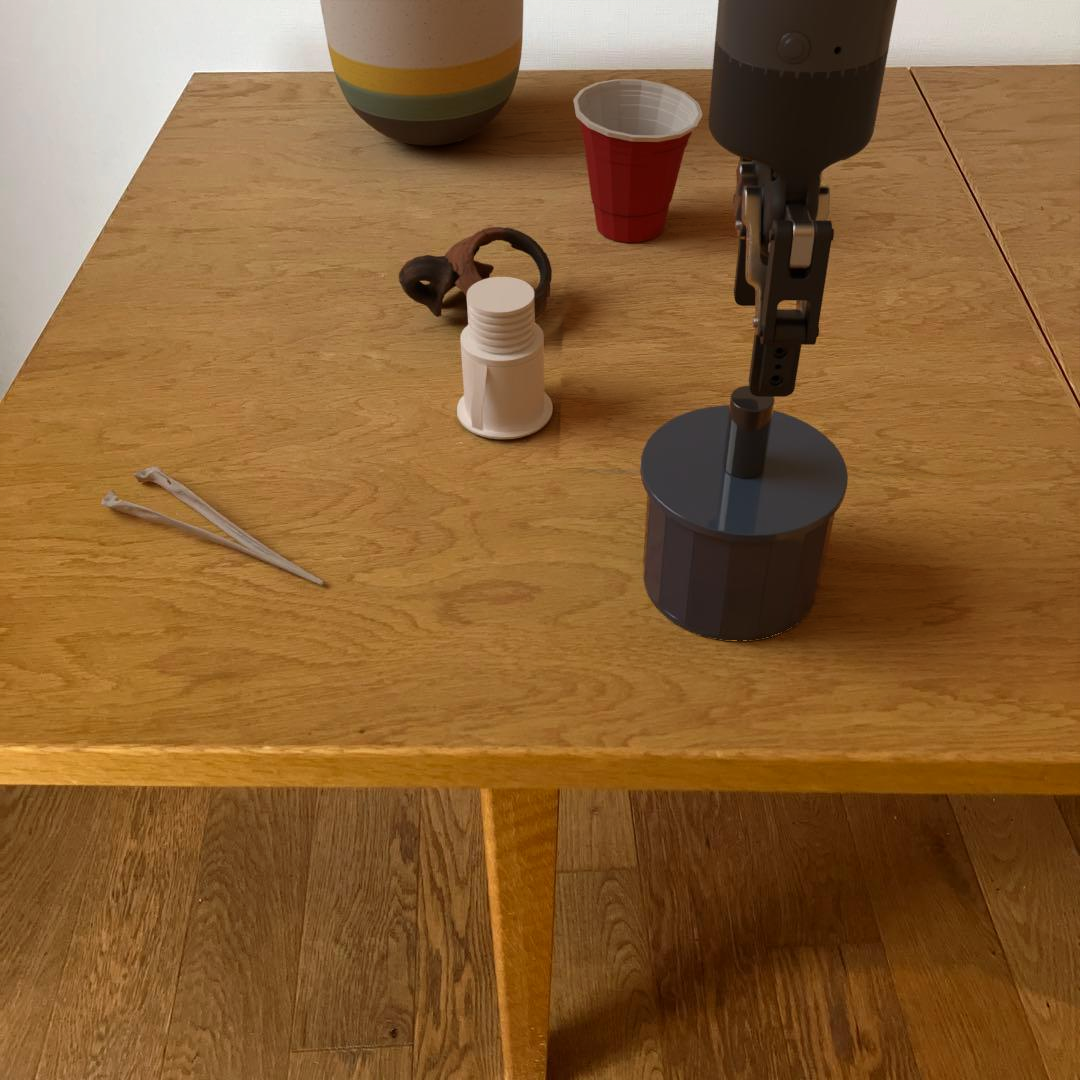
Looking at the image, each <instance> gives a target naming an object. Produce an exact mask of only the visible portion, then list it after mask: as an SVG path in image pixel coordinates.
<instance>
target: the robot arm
mask: <svg viewBox="0 0 1080 1080" xmlns="http://www.w3.org/2000/svg"><path fill="white" fill-rule="evenodd" d="M897 5H898V0H718V1H717V13H716V24H715V36H714V47H713V49H714V50H713V59H712V72H711V84H710V96H709V97H710V98H709V108H708V109H709V110H708V121H707V122H708V128H709V131H710V134H711V137H713V139H714V140H715V142H717V144H718V145H719V146H721V147H722V148H723V149H725V150H726V151H728V152H729V153H731V154H733V155H734V156H737V157H739V161H738V163H737V167H736V186H735V191H734V194H733V195H732V198H733V199H732V203H733V204H734V221H735V222H734V223H735V224H734V229H735V231H736V235H737V237H738V238H739V240H738V249H737V258H736V265H735V266H736V267H735V276H734V285H733V297H734V301H735V302H734V303H736V304H737V305H738V306H741V307H754V316H753V317H752V328H754V334H753V341H752V342H753V344H752V351H751V359H750V365H749V366H750V367H749V375H748V386H749V387H750V392H751V393H752V394H753V395H754V396H758V397H774V398H775V397H776V398H777V397H778V398H779V397H780V398H784V397H789V396H790V395H792V394H793V393H794V391H795V388H796V382H797V376H798V368H799V363H800V357H801V350H802V346H803V345H804V346H806V345H808V346H810V345H811V346H815V345H816V343H817V338H818V337H819V335H820V327H819V325H820V318H821V312H822V305H823V298H824V293H825V285H826V278H827V272H828V265H829V259H830V252H831V245H832V242H833V241H834V237H835V230H834V228H833V223H832V220H829V219H828V218H829V217H830V203H831V202H830V201H831V191H830V186H829V185H821V183H822V177H823V171H824V170H825V169H828V168H829V167H830V166H832V165H834V164H836V163H839V162H841V161H846V160H849V159H850V158H852V157H854V156H856V155H858V154H859V153H860V152H861V151H863V150H864V149H865V148H866V147H867V146H868V145H869V143H870V142H871V140H872V138H873V135H874V132H875V126H876V120H877V116H878V109H879V104H880V98H881V94H882V87H883V84H884V83H883V82H884V77H885V73H886V72H885V71H886V65H887V58H888V55H889V50H890V49H889V48H890V42H891V37H892V32H893V26H894V22H895V21H894V20H895V15H896V9H897ZM784 301H796V303H795V309H793V308H792V309H790V308H789V309H788V308H787V309H783V308H782V309H778V307H779V304H780V303H782V302H784Z"/></svg>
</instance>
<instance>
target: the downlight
mask: <svg viewBox="0 0 1080 1080" xmlns="http://www.w3.org/2000/svg"><path fill="white" fill-rule="evenodd" d="M534 290H535V289H534V288H533V286H532V285H531V284H529V283H528V282H527V281H524V280H523V279H520V278H518V277H517V278H516V277H512V276H511V277H510V276H493V277H489V278H487V279H483V280H481V281H478V282H476V283H475V284H473V285H472V286H471V287H470V288H469V289H468V291H467V296H466V307H467V309H466V310H467V323H468V324H467V325H466V326H465V327H464V328H463V330H462V331H461V333H460V336H459V341H460V355H461V368H462V369H461V370H462V383H463V384H462V385H463V395H462V396H461V397H460V399H458V400H459V401H458V402H457V406H456V415H457V416H456V417H457V419H458V422H459V423H460V424H461V425H462V426H463V427H464V429H466V430H468V431H469V432H470V433H473V434H474V435H477V436H479V437H483V438H487V439H493V440H514V439H518V438H523V437H526V436H527V437H528V436H530V435H532V434H535V433H536V432H538V431H540V430H541V429H542V428H544V427H545V426H546V425H548V423H549V421H550V420H551V418H552V416H553V413H554V412H553V409H554V407H553V401H552V399H551V397H550V396H549V395H548V394H547V393H546V391H545V335H544V331H543V329H542V328H541V327H540V325H539V324H538V323H536V320H535V308H534Z"/></svg>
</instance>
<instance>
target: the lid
mask: <svg viewBox="0 0 1080 1080" xmlns="http://www.w3.org/2000/svg"><path fill="white" fill-rule="evenodd" d="M775 400H776V399H775V397H758V396H754V395H753V394H752V393H751V392H750V387H749V385H742V386H740V387H737V388H735V389H734V390H733V391H732V392H731V394H730V398H729V405H727V404H726V405H715V406H707V407H702V408H697V409H694V410H691V411H687V412H685V413H682V414H680V415H677V416H675V417H674V418H671V419H670V420H668V421H666V422H665V423H664V424H662V425H661V426H659V427H658V428H657V429H656V430H655V431H654V432H653V433H652V434H651V436H649V438H648V440H647V441H646V443H645V445H644V446H643V449H642V452H641V456H640V471H639V472H640V473H639V474H640V479H641V483H642V486H643V489H644V491H645V492H646V494H648V496H649V497H650V499H651V500H652V501H653V502H654V504H655V505H656V506H657V507H658V508H659V509H660V510H661V511H662V512H663V513H664V514H666V515H667V516H669V517H670V518H671V519H673V520H674V521H676V522H677V523H679V524H681V525H683V526H685V527H687V528H689V529H691V530H693V531H696V532H698V533H701V534H704V535H707V536H710V537H714V538H719V539H723V540H729V541H736V542H750V543H758V542H772V541H780V540H785V539H789V538H794V537H797V536H799V535H802V534H805V533H807V532H809V531H812V530H814V529H816V528H817V527H819V526H820V525H822V524H823V523H825V522H826V521H827V520H828V519H830V518H831V517H832V516H833V515H834V514H836V513H837V511H838V510H839V509H840V508H841V506H842V504H843V501H844V500H845V497H846V493H847V489H848V480H849V475H848V467H847V465H846V462H845V459H844V457H843V455H842V454H841V452H840V450H839V449H838V447H837V446H836V445H835V444H834V443H833V441H832V440H831V439H830V438H828V437H827V436H826V435H825V434H824V433H823V432H821V431H820V430H819V429H817V428H816V427H814V426H813V425H811V424H810V423H808V422H806V421H804V420H802V419H799V418H798V417H795V416H793V415H789V414H787V413H785V412H781V411H778V410H774V409H775V402H776V401H775ZM834 516H835V515H834Z"/></svg>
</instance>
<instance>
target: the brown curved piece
mask: <svg viewBox="0 0 1080 1080" xmlns="http://www.w3.org/2000/svg"><path fill="white" fill-rule="evenodd" d="M495 241H502V242H506V243H509V244H510V245H511V246H510V248H512V249H515V250H517V251H520V252H523V253H525V254H527V255H529V256H530V257H531V258H532V260H533V261H534V263H535V264H536V267H537V269H538V271H539V283H538V284H537V286H536V287H535V288H534V289H533V290H534V308H535V321H536V320H538V319H539V317H541V315H542V314H543V313H544V311H545V310H546V308H547V307H548V305H549V304H548V298H550V296H551V282H552V280H553V278H552V277H553V275H552V274H553V271H552V265H551V262H550V259H549V257H548V254H547V253H546V251H544V249H543V248H542V246H541V245H540V244H539V243H538V242H537V240H535V239H533V238H532V237H531V236H530V235H528V234H526V233H524V232H522V231H519V230H517V229H514V228H510V227H501V226H492V227H491V226H490V227H487V228H483V229H482V230H479V231H477V232H475V233H474V234H473V235H471V236H468V237H465V238H463V239H461V240H460V241H457V242H456V243H454V244H453V245H452V246H451V247H450V249H449V250H448V251H447V252H446V253H445V254H444V255H440V256H437V255H431V254H425V255H421V256H416V257H414V258H412V259H409V260H407V261H406V262H405V263H404V264H403V266H402V267H401V269H400V272H399V273H398V282H399V284H400V286H401V289H402V290H403V292H404V293H405V295H407V296H408V297H409V298H410V299H412V300H413V301H415V302H416V303H418V304H420V305H423V306H425V307H427V308H428V309H429V311H430V312H431V313H432V315H433V316H435V317H436V318H439V317H441V316H442V307H443V301H444V298H445V296H446V294H447V293H449V292H450V291H451V290H452V289H453V288H455V287H457V288H458V289H459V290H460V291H461V292H462V293H463V294H464V296H465V297H467V291H468V289H469V288H470V287H471V286H472V285H473V284H475V283H476V282H478V281H481V280H483V279H487V278H490V276H491V274H492V273H493V271H494V269H495V267H494V265H493V264H490V263H484V262H480V261H478V260H475V256H476V255H477V254H478V252H479V251H480V248H481V247H484V246H485V247H486V246H487V245H489V244H491V243H493V242H495ZM423 281H424V282H429V283H426V284H425V283H423Z"/></svg>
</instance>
